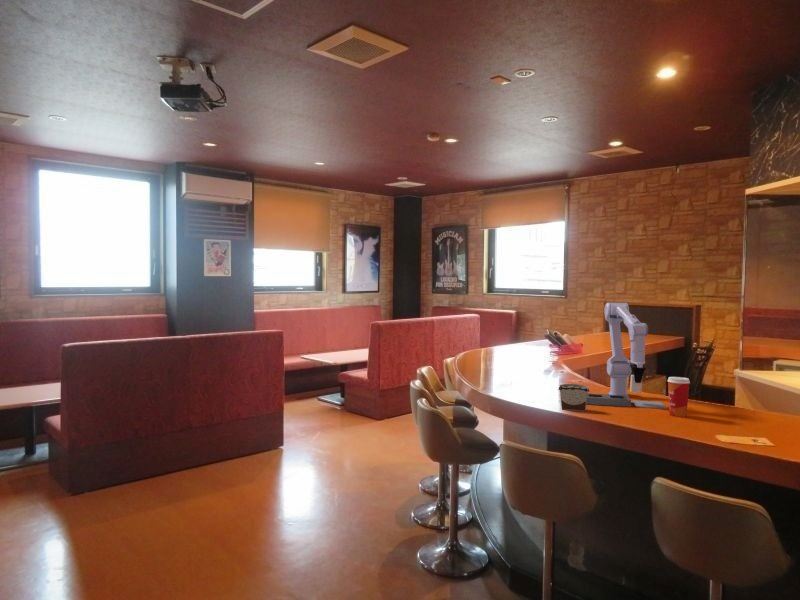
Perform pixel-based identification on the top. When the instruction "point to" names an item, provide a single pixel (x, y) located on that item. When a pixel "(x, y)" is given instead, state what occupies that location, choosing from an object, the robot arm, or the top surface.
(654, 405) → the rubber pad
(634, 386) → the ivory plug
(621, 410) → the top surface
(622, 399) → the metal frame
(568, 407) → the food container
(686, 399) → the coffee cup
